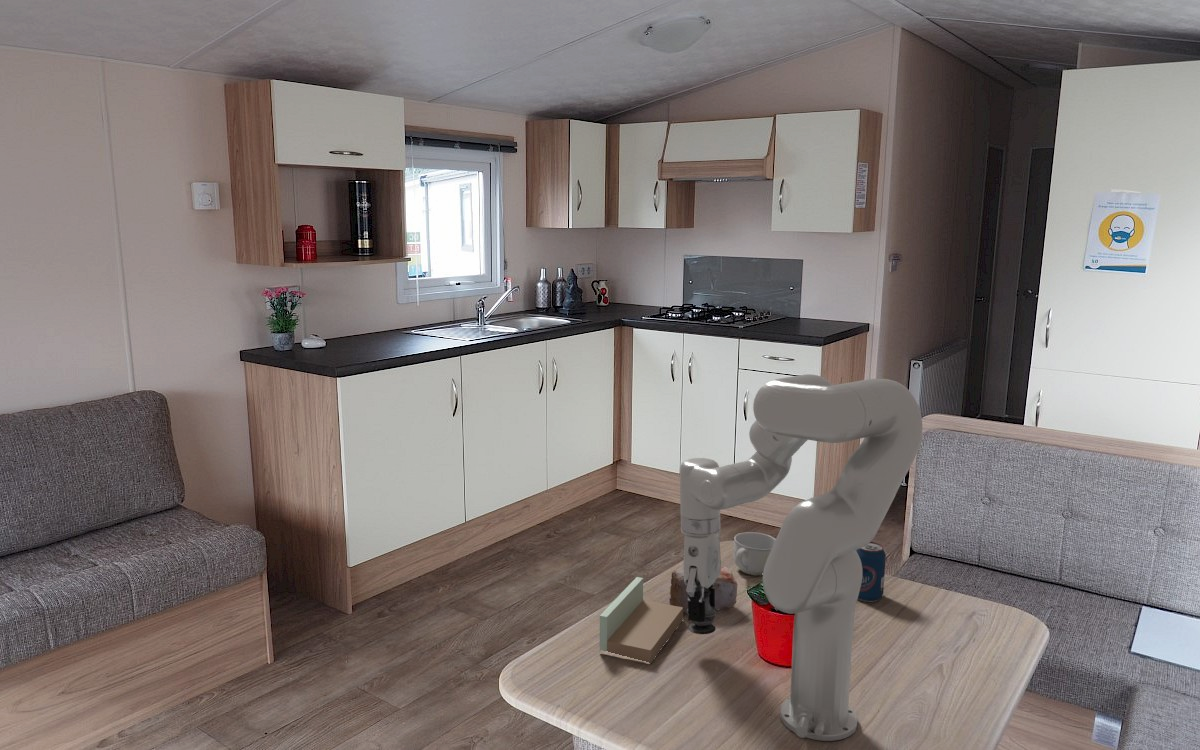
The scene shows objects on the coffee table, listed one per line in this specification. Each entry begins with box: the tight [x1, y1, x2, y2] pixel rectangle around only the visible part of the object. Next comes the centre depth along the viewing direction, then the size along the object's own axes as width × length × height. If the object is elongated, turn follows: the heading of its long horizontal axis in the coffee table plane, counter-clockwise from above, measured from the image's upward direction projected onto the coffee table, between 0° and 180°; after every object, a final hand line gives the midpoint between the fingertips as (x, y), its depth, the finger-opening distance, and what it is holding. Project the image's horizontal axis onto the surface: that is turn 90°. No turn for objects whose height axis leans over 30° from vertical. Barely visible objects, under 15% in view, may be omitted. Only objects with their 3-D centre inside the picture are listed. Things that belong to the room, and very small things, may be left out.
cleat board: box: [599, 576, 684, 663], centre depth 173 cm, size 20×10×8 cm, turn 157°
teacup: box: [733, 531, 777, 576], centre depth 205 cm, size 14×11×8 cm
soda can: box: [856, 541, 887, 603], centre depth 192 cm, size 7×7×12 cm
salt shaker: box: [686, 582, 718, 635], centre depth 166 cm, size 6×6×12 cm
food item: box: [669, 565, 738, 614], centre depth 187 cm, size 14×8×10 cm, turn 103°
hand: (701, 613), depth 166 cm, fingers closed on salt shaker, 5 cm apart
